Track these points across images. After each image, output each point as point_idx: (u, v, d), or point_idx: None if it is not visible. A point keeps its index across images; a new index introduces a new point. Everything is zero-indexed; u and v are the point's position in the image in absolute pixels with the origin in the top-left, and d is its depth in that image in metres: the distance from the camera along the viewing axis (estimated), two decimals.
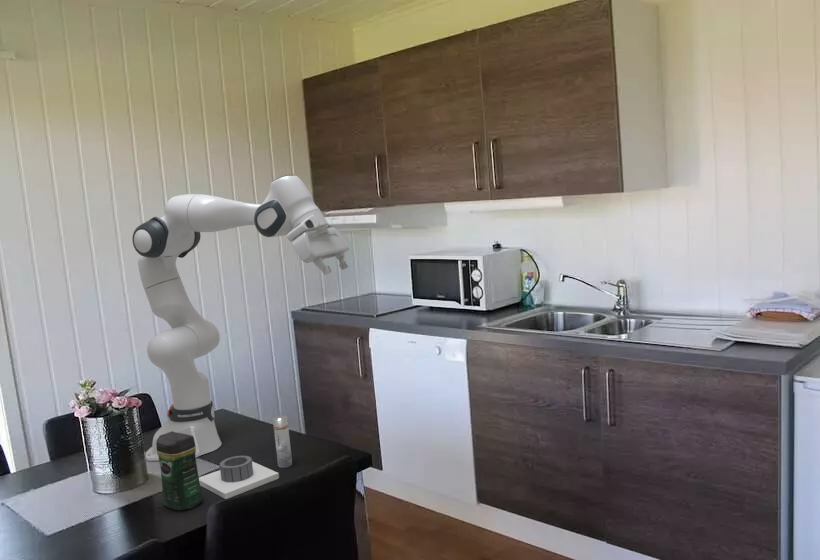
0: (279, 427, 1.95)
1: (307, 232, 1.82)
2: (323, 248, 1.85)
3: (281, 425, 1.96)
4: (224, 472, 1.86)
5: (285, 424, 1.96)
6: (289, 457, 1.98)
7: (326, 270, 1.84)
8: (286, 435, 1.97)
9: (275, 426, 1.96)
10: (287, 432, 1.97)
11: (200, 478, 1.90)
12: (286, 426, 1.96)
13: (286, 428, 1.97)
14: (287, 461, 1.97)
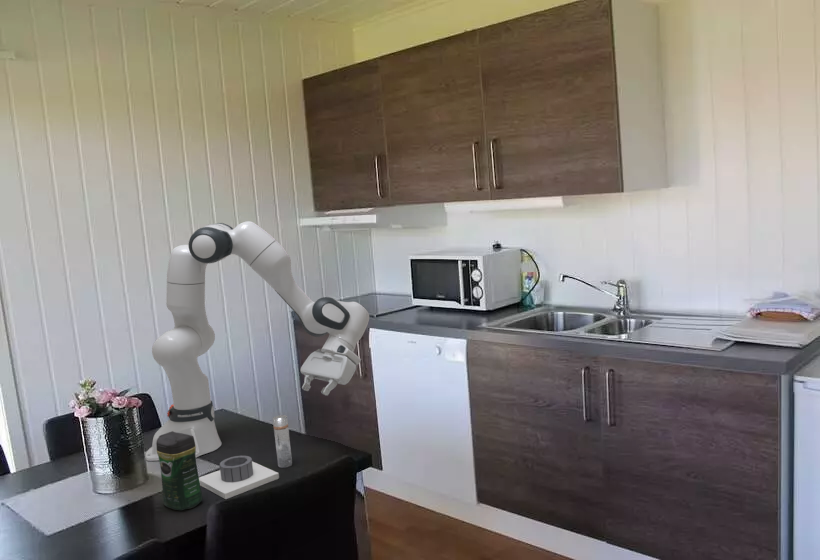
0: (279, 427, 1.95)
1: None
2: None
3: (281, 425, 1.96)
4: (224, 472, 1.86)
5: (285, 424, 1.96)
6: (289, 457, 1.98)
7: (327, 393, 2.02)
8: (286, 435, 1.97)
9: (275, 426, 1.96)
10: (287, 432, 1.97)
11: (200, 478, 1.90)
12: (286, 426, 1.96)
13: (286, 428, 1.97)
14: (287, 461, 1.97)
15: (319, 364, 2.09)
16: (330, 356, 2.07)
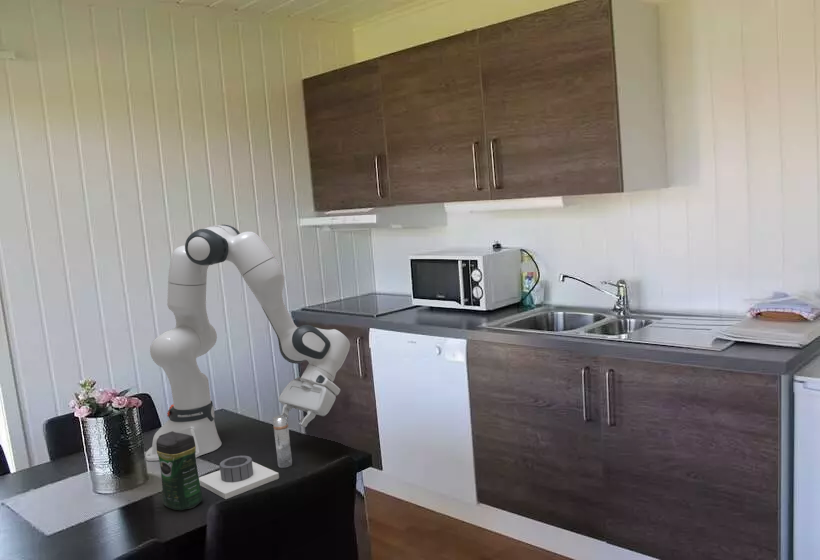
0: (279, 427, 1.95)
1: None
2: None
3: (281, 425, 1.95)
4: (224, 472, 1.86)
5: (285, 424, 1.96)
6: (289, 457, 1.98)
7: (306, 424, 1.97)
8: (286, 435, 1.97)
9: (275, 426, 1.96)
10: (287, 432, 1.97)
11: (200, 478, 1.90)
12: (286, 426, 1.96)
13: (286, 428, 1.97)
14: (287, 461, 1.97)
15: (298, 394, 2.04)
16: (309, 386, 2.02)
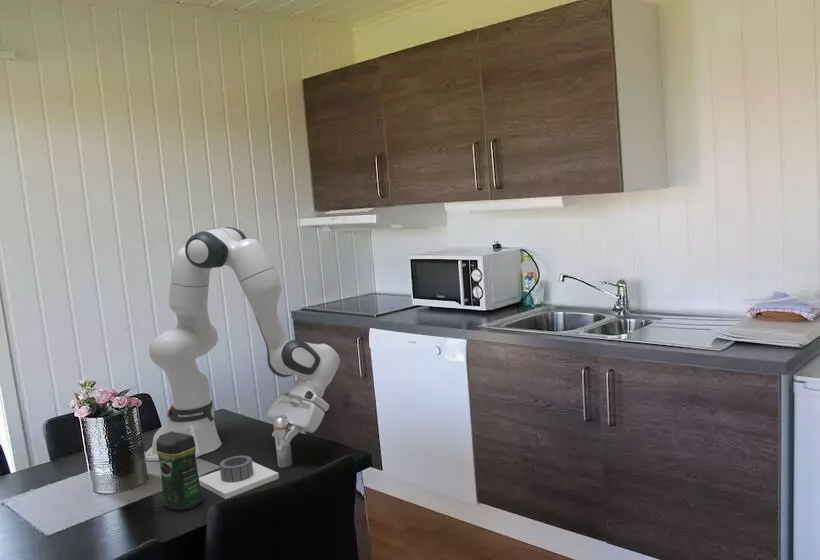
0: (279, 427, 1.95)
1: None
2: None
3: (281, 425, 1.95)
4: (224, 472, 1.86)
5: (285, 424, 1.96)
6: (289, 457, 1.98)
7: (289, 440, 1.96)
8: None
9: (275, 426, 1.96)
10: (287, 432, 1.97)
11: (200, 478, 1.90)
12: (286, 426, 1.96)
13: (286, 428, 1.97)
14: (287, 461, 1.97)
15: (286, 409, 2.01)
16: (297, 402, 1.99)
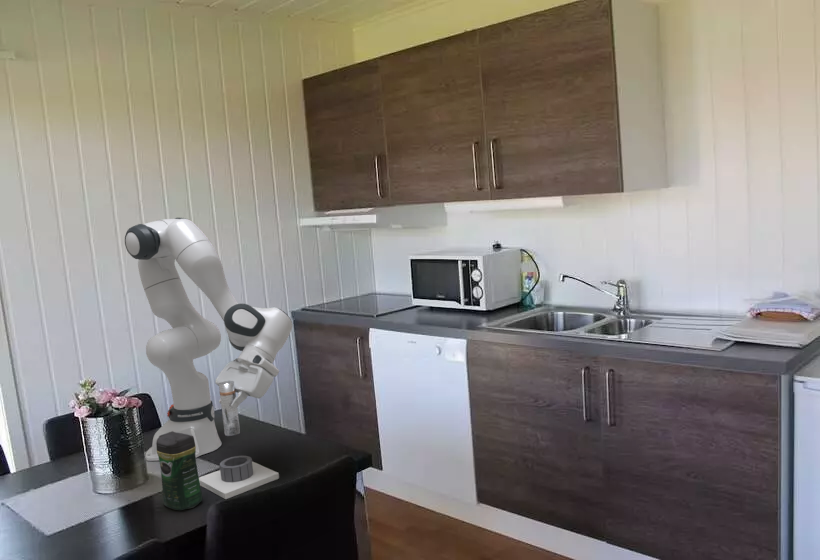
0: (225, 393, 1.85)
1: None
2: None
3: (227, 391, 1.85)
4: (224, 472, 1.86)
5: (232, 390, 1.86)
6: (236, 425, 1.87)
7: (236, 406, 1.85)
8: None
9: (221, 392, 1.85)
10: (234, 398, 1.87)
11: (200, 478, 1.90)
12: (233, 392, 1.86)
13: (233, 394, 1.86)
14: (234, 429, 1.87)
15: (234, 375, 1.91)
16: (246, 367, 1.89)
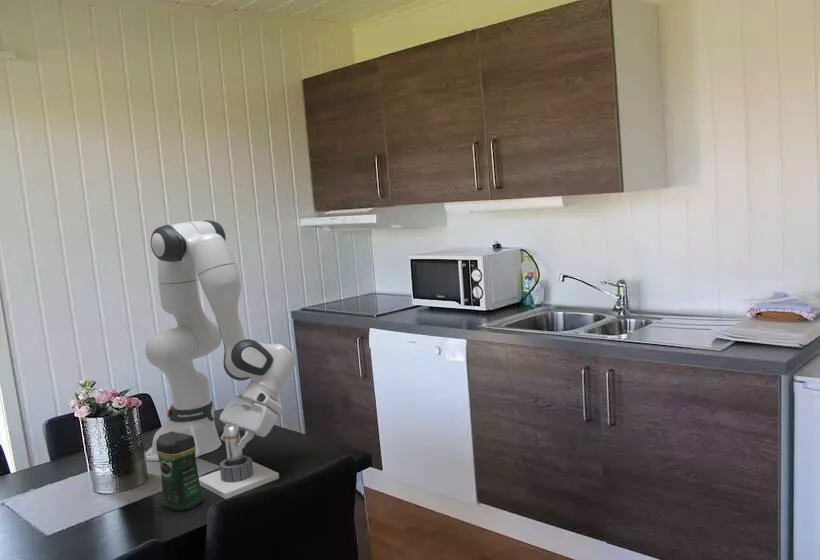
0: (230, 436, 1.86)
1: None
2: None
3: (232, 434, 1.87)
4: (224, 472, 1.86)
5: (236, 433, 1.87)
6: None
7: (243, 445, 1.86)
8: None
9: (226, 435, 1.87)
10: None
11: (200, 478, 1.90)
12: (237, 435, 1.88)
13: (237, 437, 1.88)
14: None
15: (238, 413, 1.92)
16: (250, 405, 1.90)
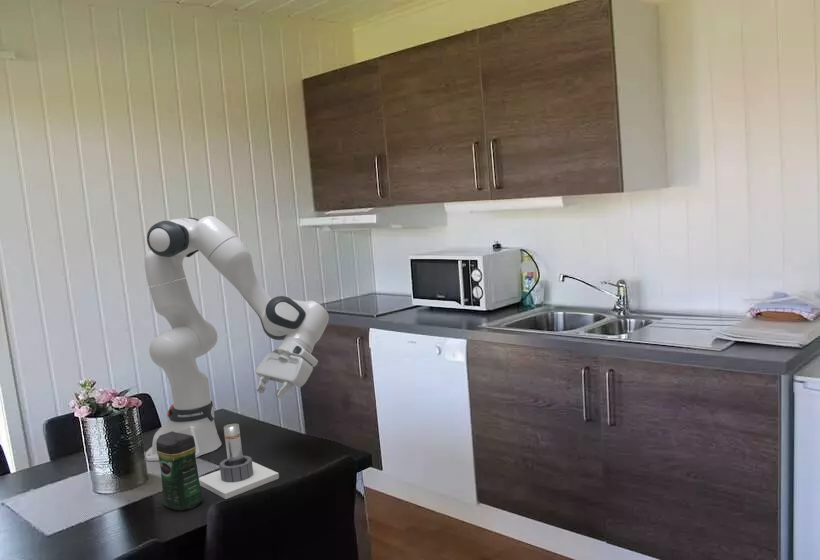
0: (230, 436, 1.86)
1: None
2: None
3: (232, 434, 1.87)
4: (224, 472, 1.86)
5: (236, 433, 1.87)
6: None
7: (282, 396, 1.93)
8: (238, 444, 1.88)
9: (226, 435, 1.87)
10: (239, 441, 1.88)
11: (200, 478, 1.90)
12: (237, 435, 1.88)
13: (238, 437, 1.88)
14: None
15: (275, 365, 2.00)
16: (286, 357, 1.98)
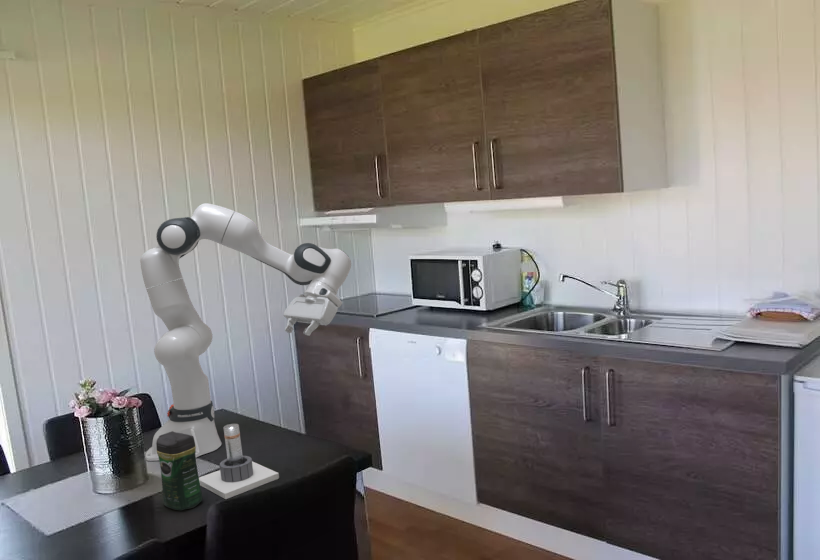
0: (230, 436, 1.86)
1: None
2: None
3: (232, 434, 1.86)
4: (224, 472, 1.86)
5: (236, 433, 1.87)
6: None
7: (309, 333, 2.08)
8: (238, 444, 1.88)
9: (226, 435, 1.87)
10: (239, 441, 1.88)
11: (200, 478, 1.90)
12: (237, 435, 1.87)
13: (237, 437, 1.87)
14: None
15: (302, 307, 2.15)
16: (312, 299, 2.13)
